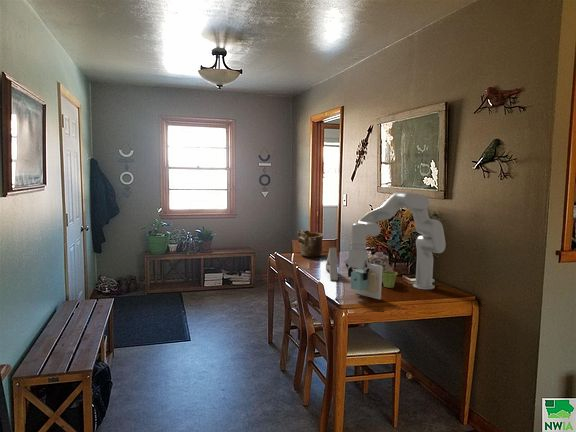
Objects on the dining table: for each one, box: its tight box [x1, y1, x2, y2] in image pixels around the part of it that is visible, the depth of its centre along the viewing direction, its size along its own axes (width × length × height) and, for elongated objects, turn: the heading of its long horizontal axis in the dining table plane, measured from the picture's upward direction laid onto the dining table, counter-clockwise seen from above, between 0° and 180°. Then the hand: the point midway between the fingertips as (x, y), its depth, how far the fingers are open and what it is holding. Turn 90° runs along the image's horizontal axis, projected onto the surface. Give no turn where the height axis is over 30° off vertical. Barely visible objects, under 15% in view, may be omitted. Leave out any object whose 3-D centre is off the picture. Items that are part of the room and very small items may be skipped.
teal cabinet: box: [350, 269, 372, 291], centre depth 236 cm, size 11×6×9 cm, turn 134°
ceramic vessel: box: [296, 229, 324, 258], centre depth 354 cm, size 23×24×25 cm
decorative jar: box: [368, 251, 390, 284], centre depth 277 cm, size 12×12×18 cm
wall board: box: [353, 264, 383, 300], centre depth 240 cm, size 5×16×18 cm, turn 44°
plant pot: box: [382, 270, 398, 289], centre depth 263 cm, size 9×9×9 cm
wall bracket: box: [325, 246, 339, 282], centre depth 292 cm, size 22×4×30 cm
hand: (357, 278), depth 234 cm, fingers open, 9 cm apart
